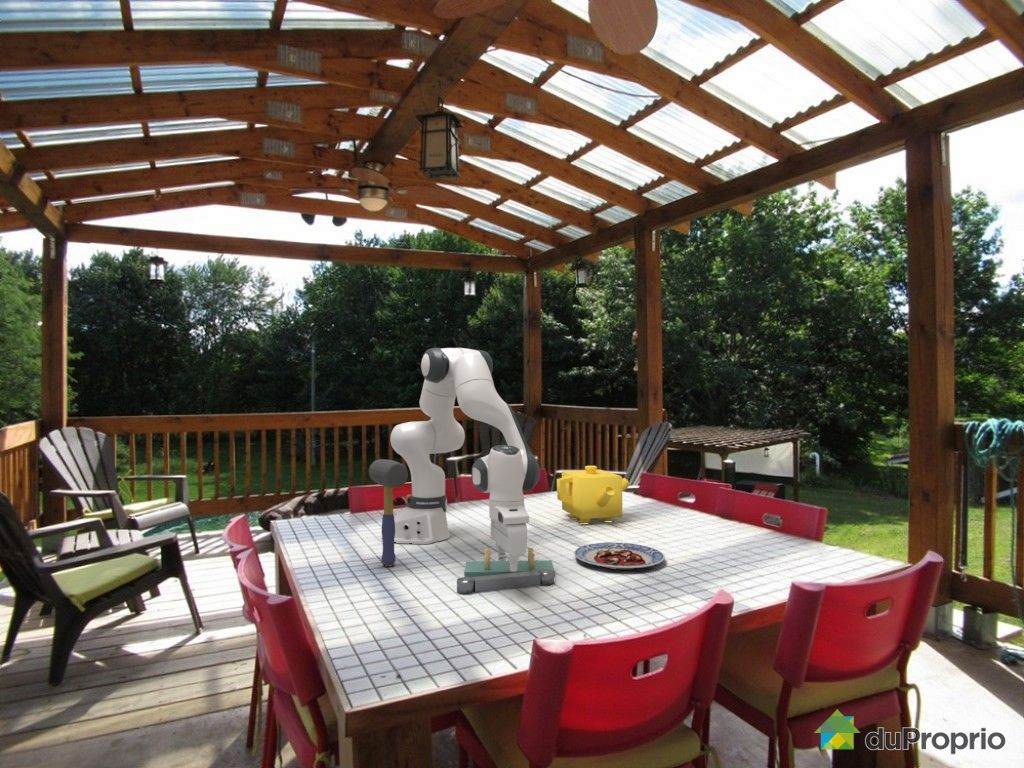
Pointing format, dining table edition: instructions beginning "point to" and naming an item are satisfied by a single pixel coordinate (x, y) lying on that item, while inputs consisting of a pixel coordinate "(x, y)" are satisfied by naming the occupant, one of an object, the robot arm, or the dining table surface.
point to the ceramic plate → (619, 555)
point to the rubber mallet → (388, 501)
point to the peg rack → (504, 565)
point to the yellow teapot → (591, 494)
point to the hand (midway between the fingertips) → (507, 565)
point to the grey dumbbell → (505, 581)
